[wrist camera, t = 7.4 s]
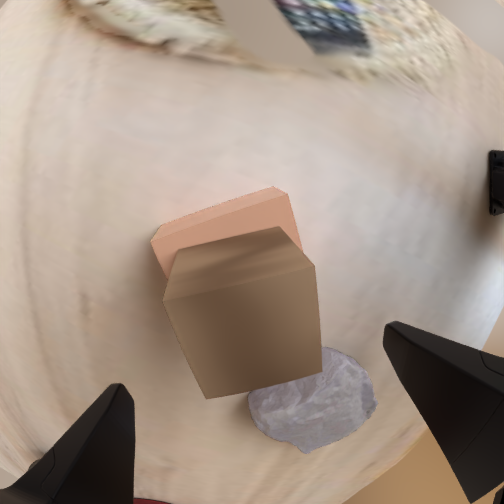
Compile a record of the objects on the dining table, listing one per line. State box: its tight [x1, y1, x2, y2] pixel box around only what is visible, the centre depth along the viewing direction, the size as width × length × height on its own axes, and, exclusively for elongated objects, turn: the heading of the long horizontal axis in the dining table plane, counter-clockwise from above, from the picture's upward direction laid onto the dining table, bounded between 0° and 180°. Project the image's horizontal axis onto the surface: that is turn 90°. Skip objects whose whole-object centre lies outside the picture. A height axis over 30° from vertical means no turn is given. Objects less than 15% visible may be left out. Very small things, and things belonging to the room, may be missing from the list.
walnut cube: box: [162, 226, 323, 399], centre depth 12 cm, size 5×5×5 cm
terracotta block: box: [150, 186, 303, 280], centre depth 16 cm, size 7×7×4 cm
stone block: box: [248, 347, 378, 454], centre depth 22 cm, size 12×5×10 cm
